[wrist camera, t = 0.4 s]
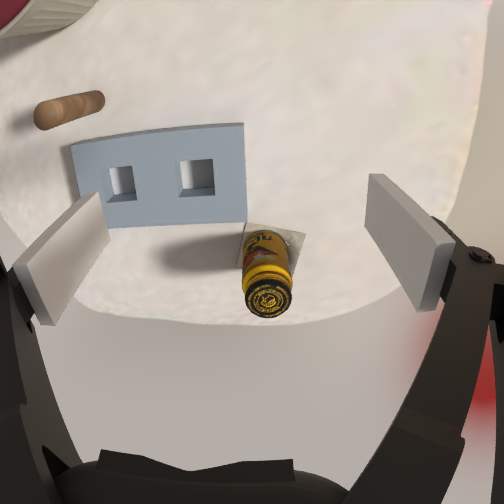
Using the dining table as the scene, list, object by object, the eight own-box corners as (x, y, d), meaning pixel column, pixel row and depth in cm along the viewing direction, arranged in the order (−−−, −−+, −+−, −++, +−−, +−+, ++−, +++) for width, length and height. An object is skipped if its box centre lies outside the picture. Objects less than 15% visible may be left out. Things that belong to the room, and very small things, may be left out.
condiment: (246, 221, 44) (244, 272, 34) (305, 233, 45) (321, 284, 35) (236, 266, 48) (232, 322, 38) (292, 275, 49) (302, 332, 38)
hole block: (80, 140, 37) (70, 146, 35) (243, 122, 37) (243, 126, 35) (96, 220, 44) (88, 229, 41) (247, 212, 43) (247, 222, 41)
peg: (84, 93, 34) (31, 105, 24) (103, 88, 34) (54, 98, 24) (86, 114, 36) (35, 133, 25) (106, 110, 36) (58, 127, 25)
